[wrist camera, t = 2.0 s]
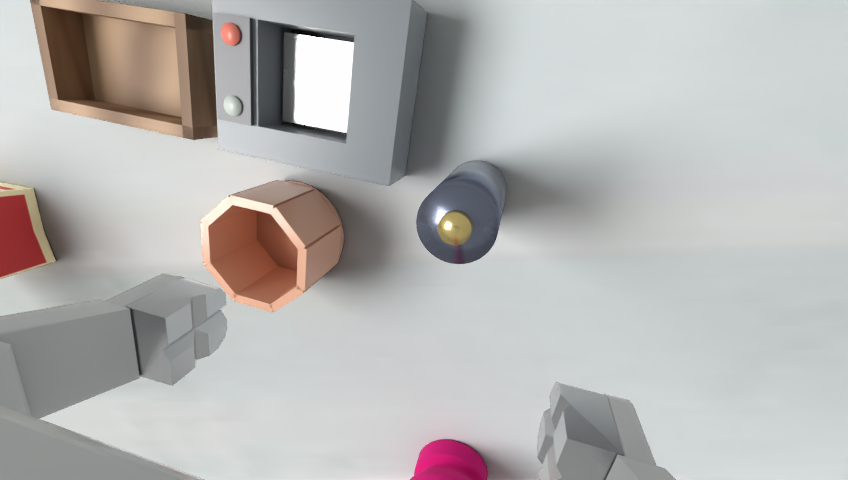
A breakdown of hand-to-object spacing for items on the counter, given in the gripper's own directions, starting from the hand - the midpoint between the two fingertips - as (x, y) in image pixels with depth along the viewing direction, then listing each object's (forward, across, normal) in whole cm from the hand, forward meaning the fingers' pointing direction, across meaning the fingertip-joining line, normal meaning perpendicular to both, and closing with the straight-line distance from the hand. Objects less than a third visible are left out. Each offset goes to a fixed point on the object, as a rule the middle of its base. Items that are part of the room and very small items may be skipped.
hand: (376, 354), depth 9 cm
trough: (+19, +25, -4) cm, 31 cm away
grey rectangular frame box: (+19, +11, -5) cm, 22 cm away
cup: (+19, +13, +6) cm, 23 cm away
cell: (+19, 0, 0) cm, 19 cm away
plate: (+18, +11, -5) cm, 22 cm away
